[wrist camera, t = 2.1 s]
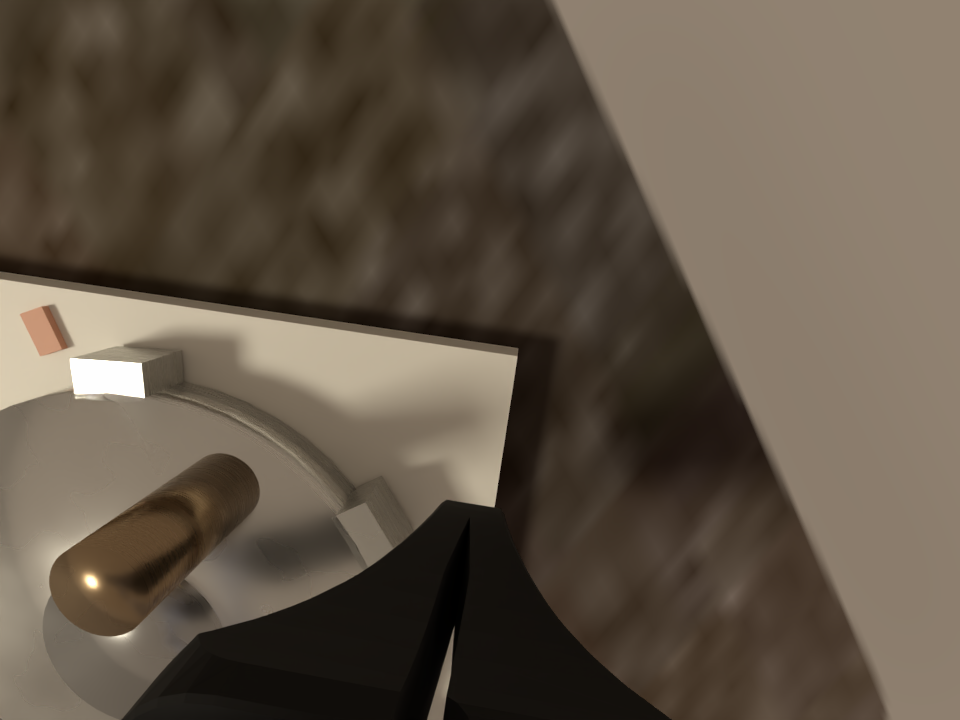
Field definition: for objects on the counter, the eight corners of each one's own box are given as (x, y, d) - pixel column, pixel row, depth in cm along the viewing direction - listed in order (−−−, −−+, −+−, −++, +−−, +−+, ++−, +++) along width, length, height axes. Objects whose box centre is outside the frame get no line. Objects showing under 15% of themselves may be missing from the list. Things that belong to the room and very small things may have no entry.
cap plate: (441, 846, 19) (436, 886, 17) (-39, 749, 20) (-75, 782, 18) (518, 348, 14) (517, 357, 13) (-101, 256, 15) (-152, 258, 14)
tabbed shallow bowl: (289, 871, 18) (189, 1138, 13) (-124, 634, 17) (-416, 812, 12) (526, 566, 15) (525, 755, 9) (24, 252, 14) (-293, 262, 8)
